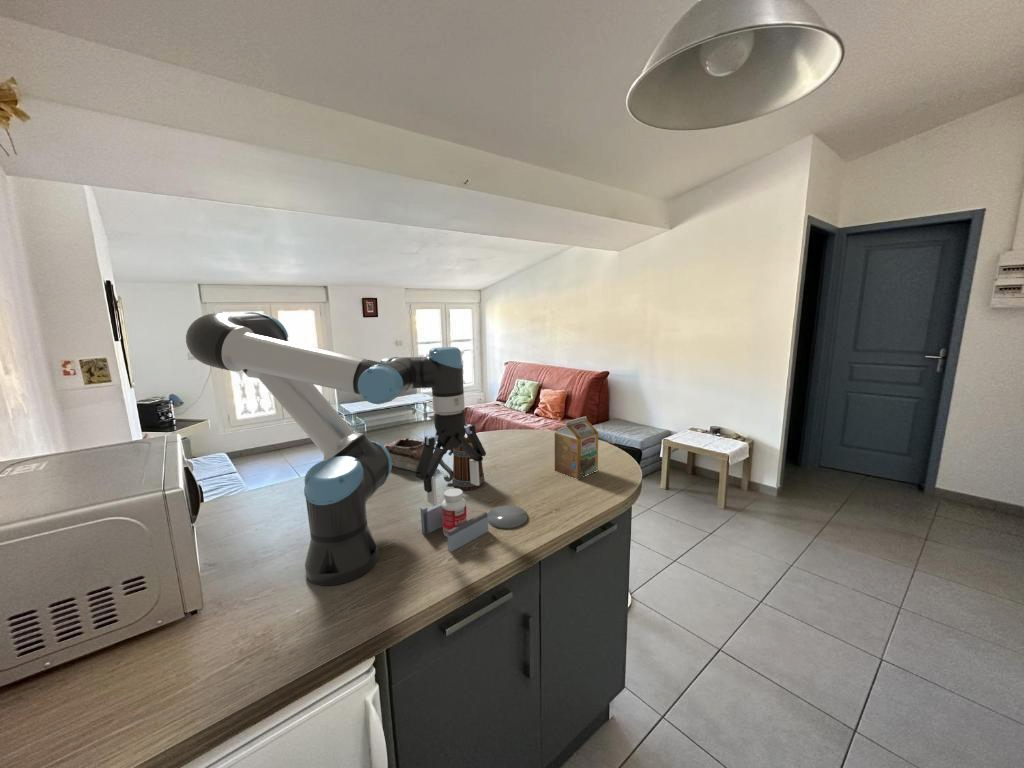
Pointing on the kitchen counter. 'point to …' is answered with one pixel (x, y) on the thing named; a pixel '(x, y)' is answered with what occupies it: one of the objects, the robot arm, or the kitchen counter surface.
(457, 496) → the pill bottle
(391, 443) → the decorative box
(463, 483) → the mug
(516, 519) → the coaster
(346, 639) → the kitchen counter surface
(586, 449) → the milk carton
